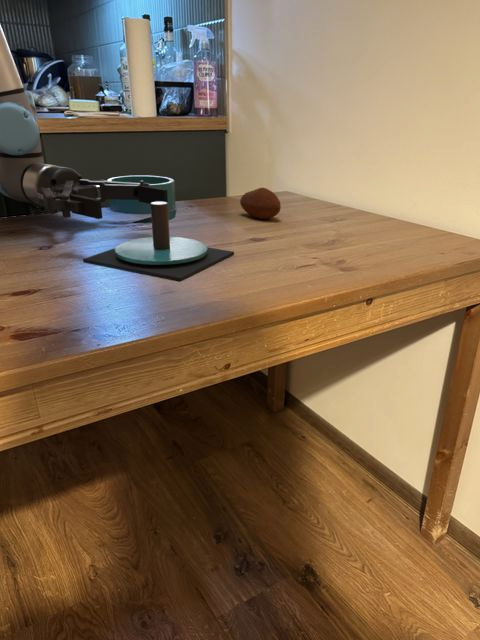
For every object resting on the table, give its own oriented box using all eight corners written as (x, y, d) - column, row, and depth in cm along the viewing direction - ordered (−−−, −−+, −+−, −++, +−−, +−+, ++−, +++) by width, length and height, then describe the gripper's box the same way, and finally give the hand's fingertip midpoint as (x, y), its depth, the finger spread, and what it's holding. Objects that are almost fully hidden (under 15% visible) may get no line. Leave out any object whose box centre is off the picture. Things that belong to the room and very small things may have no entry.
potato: (251, 211, 116) (252, 182, 113) (289, 220, 109) (291, 189, 106) (232, 215, 112) (233, 185, 109) (271, 224, 105) (272, 192, 102)
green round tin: (97, 217, 105) (93, 180, 102) (138, 207, 116) (135, 173, 113) (150, 226, 100) (147, 187, 97) (187, 214, 111) (186, 179, 108)
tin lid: (95, 259, 77) (88, 205, 73) (152, 239, 89) (149, 191, 85) (174, 274, 72) (171, 217, 68) (224, 251, 83) (223, 200, 80)
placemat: (83, 262, 77) (82, 258, 77) (147, 240, 90) (146, 237, 90) (180, 281, 71) (180, 277, 70) (234, 254, 84) (234, 251, 83)
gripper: (113, 200, 101) (190, 215, 90) (-8, 219, 83) (69, 241, 72) (109, 160, 97) (188, 172, 87) (-18, 171, 79) (62, 187, 68)
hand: (135, 203), depth 79 cm, fingers open, 13 cm apart
